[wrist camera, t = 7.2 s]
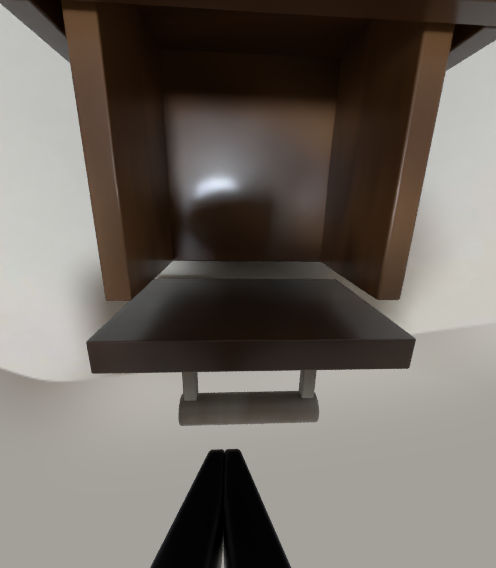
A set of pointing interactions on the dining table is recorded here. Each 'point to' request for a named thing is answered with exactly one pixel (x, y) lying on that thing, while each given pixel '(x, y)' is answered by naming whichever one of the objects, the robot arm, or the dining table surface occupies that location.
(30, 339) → the dining table surface
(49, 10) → the cabinet
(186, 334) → the drawer
